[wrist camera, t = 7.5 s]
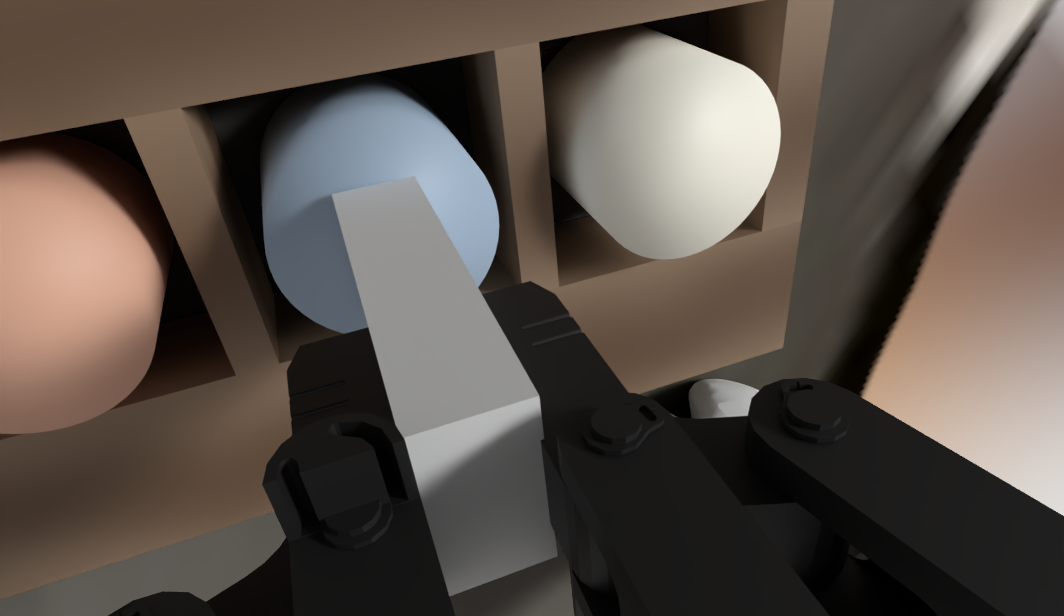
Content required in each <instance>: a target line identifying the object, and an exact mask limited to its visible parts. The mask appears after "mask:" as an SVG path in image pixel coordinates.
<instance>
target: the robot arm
mask: <svg viewBox="0 0 1064 616" xmlns="http://www.w3.org/2000/svg"><path fill="white" fill-rule="evenodd" d="M332 198H333V201H334V205H335V209H336V212H337V216H338V219H339V223H340V227H341V230H342V234H343V237H344V241H345V245H346V248H347V252H348V255H349V259H350V263H351V266H352V270H353V273H354V277H355V281H356V284H357V288H358V291H359V295H360V299H361V302H362V306H363V309H364V313H365V317H366V320H367V324H368V327H367V328H364V329H360V330H356V331H352V332H349V333H345V334H341V335H338V336H334V337H330V338H327V339H323V340H319V341H315V342H312V343H308V344H304V345H301V346H299V348H298V350H297V352H296V354H295V356H294V357H293V359H292V361H291V363H290V365H289V367H288V369H287V382H288V393H289V398H290V400H289V404H290V415H291V419H292V421H291V427H292V436H291V437H290V438H288V439H287V440H286V441H284V442H283V443H282V444H281V445H280V446H279V448H278V449H277V450H276V452H275V453H274V455H273V456H272V457H271V459H270V460H269V461H268V463H267V465H266V470H265V474H264V478H263V483H262V485H263V488H264V490H265V492H266V494H267V496H268V498H269V501H270V503H271V505H272V507H273V509H274V511H275V514H276V516H277V518H278V520H279V522H280V524H281V527H282V529H283V531H284V533H285V535H286V539H285V540H284V542H283V543H282V545H281V546H280V547H279V548H278V549H277V551H276V552H275V553H274V554H273V555H272V556H271V557H270V558H269V559H268V560H267V561H266V562H265V563H264V564H262V565H261V566H260V567H258V568H257V569H256V570H254V571H253V572H252V573H250V574H249V575H248V576H246V577H245V578H243V579H242V580H240V581H238V582H237V583H235V584H234V585H232V586H230V587H229V588H227V589H226V590H224V591H222V592H221V593H219V594H218V595H216V596H215V597H213V598H211V599H210V600H208V601H207V602H205V601H203V600H201V599H200V598H198V597H196V596H194V595H192V594H191V593H189V592H160V593H157V594H153V595H150V596H147V597H143V598H140V599H137V600H134V601H132V602H130V603H128V604H127V605H125V606H123V607H122V608H120V609H118V610H117V611H115V612H113V613H112V614H110V615H108V616H455V614H454V611H453V607H452V604H451V600H450V596H452V595H455V594H458V593H460V592H463V591H466V590H468V589H471V588H474V587H476V586H479V585H482V584H484V583H487V582H490V581H493V580H495V579H498V578H501V577H503V576H506V575H509V574H511V573H514V572H517V571H519V570H522V569H525V568H527V567H530V566H533V565H536V564H538V563H541V562H544V561H546V560H549V559H552V558H554V557H557V556H558V555H557V546H556V537H555V534H556V536H557V538H558V540H559V542H560V544H561V547H562V549H563V551H564V553H565V555H566V557H567V559H568V561H569V566H570V576H571V586H572V596H573V606H574V615H575V616H1064V516H1063V515H1061V514H1059V513H1058V512H1056V511H1054V510H1052V509H1051V508H1049V507H1047V506H1046V505H1044V504H1042V503H1040V502H1039V501H1037V500H1035V499H1034V498H1032V497H1030V496H1029V495H1027V494H1025V493H1023V492H1022V491H1020V490H1018V489H1016V488H1015V487H1013V486H1011V485H1010V484H1008V483H1006V482H1005V481H1003V480H1001V479H999V478H998V477H996V476H994V475H993V474H991V473H989V472H988V471H986V470H984V469H982V468H981V467H979V466H977V465H976V464H974V463H972V462H970V461H969V460H967V459H965V458H964V457H962V456H960V455H959V454H957V453H955V452H953V451H952V450H950V449H948V448H947V447H945V446H943V445H942V444H940V443H938V442H936V441H935V440H933V439H931V438H930V437H928V436H926V435H924V434H923V433H921V432H919V431H918V430H916V429H914V428H913V427H911V426H909V425H907V424H906V423H904V422H902V421H901V420H899V419H897V418H895V417H894V416H892V415H890V414H888V413H887V412H885V411H884V410H882V409H880V408H878V407H877V406H875V405H873V404H871V403H870V402H868V401H866V400H865V399H863V398H861V397H860V396H858V395H856V394H854V393H853V392H851V391H849V390H846V389H844V388H842V387H839V386H837V385H835V384H832V383H830V382H825V381H819V380H814V379H808V378H797V379H782V380H779V381H777V382H774V383H771V384H769V385H766V386H764V387H763V388H762V389H761V390H759V391H758V392H757V393H756V394H755V395H754V396H753V397H752V399H751V403H750V407H749V412H748V416H735V417H719V418H704V419H696V418H680V417H674V416H672V415H671V414H670V413H669V412H668V411H667V410H666V409H665V408H663V407H662V406H661V405H660V404H659V403H657V402H656V401H655V400H652V399H649V398H647V397H644V396H642V395H639V394H637V393H629V392H628V391H627V390H626V388H625V387H624V386H623V384H622V383H621V382H620V380H619V379H618V378H617V376H616V375H615V374H614V372H613V371H612V370H611V368H610V367H609V366H608V364H607V363H606V362H605V360H604V359H603V357H602V356H601V355H600V353H599V352H598V351H597V349H596V348H595V347H594V345H593V344H592V343H591V341H590V340H589V339H588V337H587V336H586V335H585V333H582V331H581V328H580V327H579V325H578V324H577V323H576V321H575V320H574V318H573V317H570V314H569V312H568V310H567V309H566V308H565V306H564V305H563V304H562V302H561V301H560V300H559V298H558V297H557V296H556V294H554V293H552V292H551V291H549V290H547V289H545V288H543V287H541V286H539V285H537V284H535V283H533V282H532V281H529V282H525V283H521V284H517V285H514V286H510V287H506V288H503V289H499V290H495V291H492V292H488V293H484V294H481V292H480V290H479V289H478V287H477V285H476V283H475V282H474V280H473V278H472V276H471V275H470V273H469V271H468V269H467V268H466V266H465V264H464V262H463V261H462V259H461V257H460V255H459V254H458V252H457V250H456V248H455V246H454V245H453V243H452V241H451V239H450V238H449V236H448V234H447V232H446V231H445V229H444V227H443V225H442V224H441V222H440V220H439V218H438V217H437V215H436V213H435V211H434V210H433V208H432V206H431V204H430V203H429V201H428V199H427V197H426V195H425V194H424V192H423V190H422V188H421V187H420V185H419V183H418V181H417V180H416V178H415V176H411V177H406V178H402V179H397V180H393V181H388V182H384V183H379V184H375V185H370V186H366V187H361V188H357V189H352V190H348V191H343V192H339V193H334V194H332Z"/></svg>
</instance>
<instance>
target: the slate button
mask: <svg viewBox="0 0 1064 616" xmlns="http://www.w3.org/2000/svg"><path fill="white" fill-rule="evenodd" d="M411 176H415V178H416V180H417V181H418V183H419V185H420V187H421V188H422V190H423V192H424V194H425V195H426V197H427V199H428V201H429V203H430V204H431V206H432V208H433V210H434V211H435V213H436V215H437V217H438V218H439V220H440V222H441V224H442V225H443V227H444V229H445V231H446V232H447V234H448V236H449V238H450V239H451V241H452V243H453V245H454V246H455V248H456V250H457V252H458V254H459V255H460V257H461V259H462V261H463V262H464V264H465V266H466V268H467V269H468V271H469V273H470V275H471V276H472V278H473V280H474V282H475V283H476V285H477V287H479V285H480V284H481V282H482V281H483V279H484V278H485V276H486V274H487V272H488V270H489V268H490V266H491V264H492V261H493V258H494V255H495V253H496V248H497V243H498V237H499V215H498V209H497V204H496V200H495V197H494V194H493V191H492V189H491V186H490V185H489V183H488V181H487V179H486V177H485V175H484V174H483V173H482V171H481V170H480V168H479V167H478V166H477V164H476V163H475V162H474V161H473V159H472V158H471V157H470V155H469V154H468V153H467V152H466V150H465V149H464V148H463V147H462V145H461V144H460V143H459V142H458V140H457V139H456V138H455V137H454V135H453V134H452V133H451V131H450V130H449V129H448V128H447V126H446V125H445V124H444V123H443V121H442V120H441V119H440V118H439V116H438V115H437V114H436V113H435V111H434V110H433V109H432V108H431V106H430V105H429V104H428V103H427V102H426V101H425V100H424V99H423V98H422V97H421V96H420V95H419V94H417V93H416V92H415V91H414V90H412V89H411V88H409V87H408V86H406V85H404V84H403V83H401V82H399V81H396V80H394V79H392V78H390V77H387V76H383V75H380V74H376V73H368V74H362V75H357V76H352V77H346V78H341V79H335V80H330V81H324V82H319V83H314V84H308V85H303V86H301V87H300V88H298V89H297V90H296V91H294V92H293V93H292V94H291V95H289V96H288V97H287V98H286V99H285V100H284V101H283V102H282V103H281V104H280V106H279V107H278V108H277V110H276V111H275V113H274V114H273V115H272V117H271V119H270V121H269V123H268V125H267V127H266V130H265V133H264V135H263V138H262V143H261V149H260V179H261V197H262V214H263V231H264V244H265V253H266V258H267V261H268V265H269V269H270V271H271V273H272V275H273V278H274V280H275V282H276V284H277V285H278V287H279V288H280V290H281V291H282V293H283V294H284V296H285V297H286V298H287V299H288V300H289V301H290V303H291V304H292V305H293V306H294V307H296V308H297V309H298V310H299V311H300V312H301V313H302V314H304V315H305V316H307V317H308V318H310V319H311V320H313V321H314V322H316V323H318V324H320V325H322V326H324V327H326V328H329V329H331V330H334V331H337V332H340V333H344V334H345V333H349V332H352V331H356V330H360V329H364V328H367V327H368V324H367V320H366V317H365V313H364V309H363V306H362V302H361V299H360V295H359V291H358V288H357V284H356V281H355V277H354V273H353V270H352V266H351V263H350V259H349V255H348V252H347V248H346V245H345V241H344V237H343V234H342V230H341V227H340V223H339V219H338V216H337V212H336V209H335V205H334V201H333V198H332V194H334V193H339V192H343V191H348V190H352V189H357V188H361V187H366V186H370V185H375V184H379V183H384V182H388V181H393V180H397V179H402V178H406V177H411Z"/></svg>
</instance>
